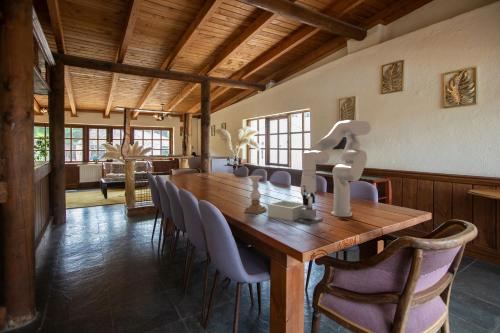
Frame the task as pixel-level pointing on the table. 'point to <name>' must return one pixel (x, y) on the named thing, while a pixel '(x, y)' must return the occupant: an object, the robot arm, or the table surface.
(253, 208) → the candle holder
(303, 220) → the stud base
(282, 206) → the bin
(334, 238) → the table surface
